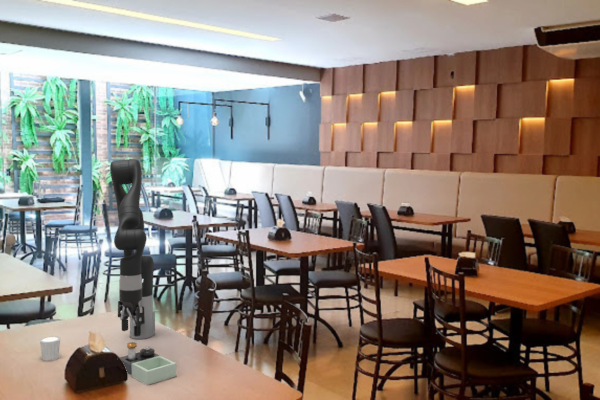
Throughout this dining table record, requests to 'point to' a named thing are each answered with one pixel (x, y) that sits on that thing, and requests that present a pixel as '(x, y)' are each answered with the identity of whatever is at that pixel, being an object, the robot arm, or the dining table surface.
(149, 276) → the robot arm
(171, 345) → the dining table surface
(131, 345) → the lock pin
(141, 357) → the dark grey holder block
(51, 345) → the white ribbed cylinder
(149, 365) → the parts tray
